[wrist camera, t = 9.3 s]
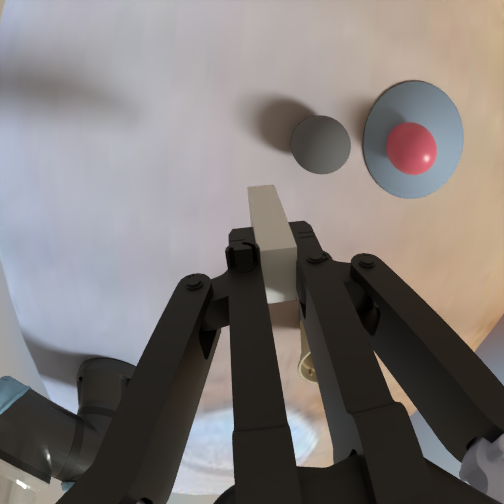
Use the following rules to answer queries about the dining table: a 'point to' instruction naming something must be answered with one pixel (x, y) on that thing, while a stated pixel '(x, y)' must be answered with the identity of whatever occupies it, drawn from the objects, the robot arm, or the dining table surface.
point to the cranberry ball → (411, 148)
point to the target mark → (426, 114)
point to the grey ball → (320, 144)
